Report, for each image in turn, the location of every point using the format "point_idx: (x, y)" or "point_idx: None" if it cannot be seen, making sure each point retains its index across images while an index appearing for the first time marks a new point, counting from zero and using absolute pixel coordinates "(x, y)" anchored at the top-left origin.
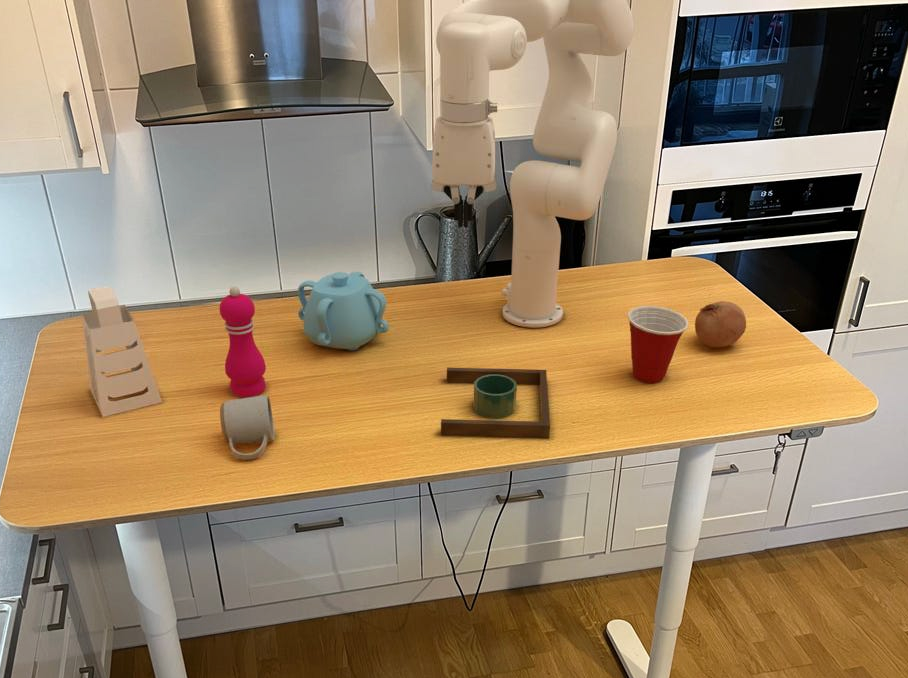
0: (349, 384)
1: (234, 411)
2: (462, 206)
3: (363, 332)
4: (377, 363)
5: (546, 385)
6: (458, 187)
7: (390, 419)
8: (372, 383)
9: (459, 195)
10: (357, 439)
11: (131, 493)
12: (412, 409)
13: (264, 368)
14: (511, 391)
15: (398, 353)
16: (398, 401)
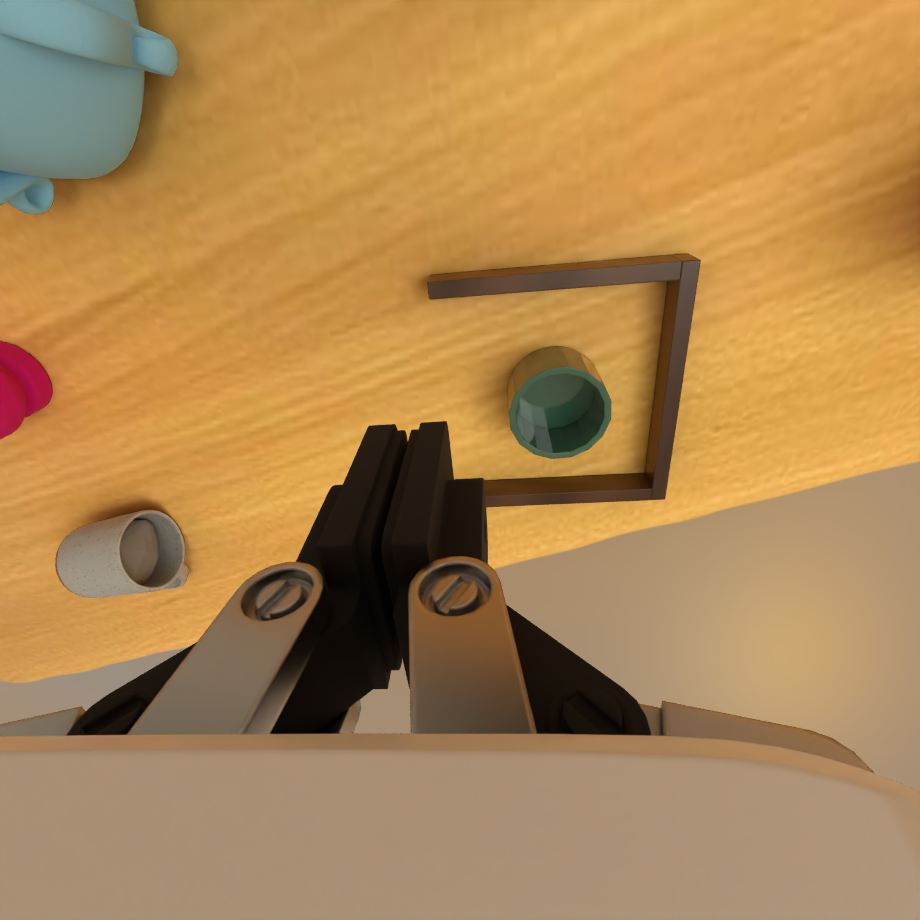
0: (209, 329)
1: (97, 596)
2: (399, 663)
3: (120, 138)
4: (226, 205)
5: (685, 347)
6: (270, 719)
7: (349, 453)
8: (259, 317)
9: (328, 676)
10: (314, 515)
11: (81, 640)
12: (381, 415)
13: (12, 398)
14: (597, 440)
15: (258, 126)
16: (344, 388)
